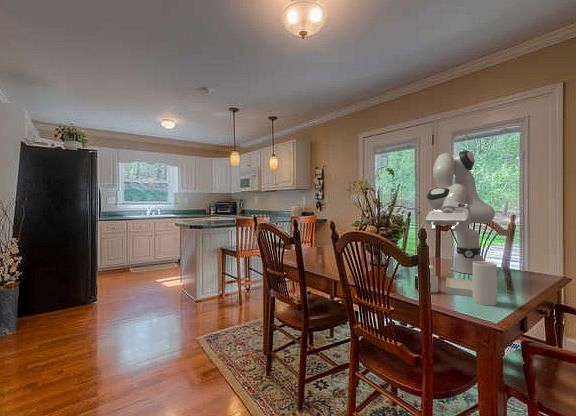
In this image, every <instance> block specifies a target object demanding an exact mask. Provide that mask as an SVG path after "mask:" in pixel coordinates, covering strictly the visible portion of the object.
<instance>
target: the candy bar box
mask: <svg viewBox="0 0 576 416" xmlns="http://www.w3.org/2000/svg"><path fill="white" fill-rule="evenodd" d="M385 258H386V256H385V254H384V253H382V252H381V263H382V262H383V264H384V263H385ZM392 273H393V274H394V258H393V259H392V258H390V261H389V266H388V270H387V276H388V277H391V275H392Z"/></svg>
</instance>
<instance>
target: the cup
mask: <svg viewBox="0 0 576 416" xmlns="http://www.w3.org/2000/svg"><path fill="white" fill-rule="evenodd" d="M497 265H498V264H497V263H495V262H493V261H485V260H484V261H474V262H473V274H472V280H473V297H472V302H473V303H475V304H477V305H482V306H489V307H490V306H496V305H498V301H497V299H498V298H497V297H498V295H497V294H498V285H497V282H498V280H497V277H498V276H497V275H498V271H497V270H498V269H497V268H498V267H497Z"/></svg>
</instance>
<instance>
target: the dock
mask: <svg viewBox="0 0 576 416" xmlns="http://www.w3.org/2000/svg"><path fill="white" fill-rule="evenodd" d="M445 279H446V280H445V294H447V295H454V296H462V297H464V296H465V297H472V298H473V279H463V278H451V277H448V276H447V277H445Z"/></svg>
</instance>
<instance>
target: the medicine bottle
mask: <svg viewBox="0 0 576 416" xmlns="http://www.w3.org/2000/svg"><path fill="white" fill-rule="evenodd" d="M428 265H429V268H430V283H431V293H430V294H433V293H439V276H437V275H434V266H433V265H431V264H428ZM418 274H419V273H418ZM418 274H414V290H415V291H417V292H419V291H418Z"/></svg>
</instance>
